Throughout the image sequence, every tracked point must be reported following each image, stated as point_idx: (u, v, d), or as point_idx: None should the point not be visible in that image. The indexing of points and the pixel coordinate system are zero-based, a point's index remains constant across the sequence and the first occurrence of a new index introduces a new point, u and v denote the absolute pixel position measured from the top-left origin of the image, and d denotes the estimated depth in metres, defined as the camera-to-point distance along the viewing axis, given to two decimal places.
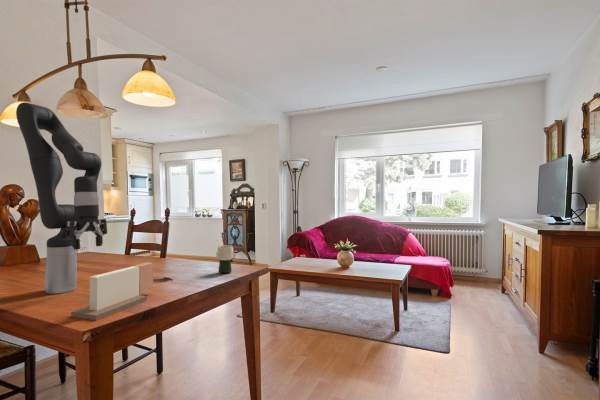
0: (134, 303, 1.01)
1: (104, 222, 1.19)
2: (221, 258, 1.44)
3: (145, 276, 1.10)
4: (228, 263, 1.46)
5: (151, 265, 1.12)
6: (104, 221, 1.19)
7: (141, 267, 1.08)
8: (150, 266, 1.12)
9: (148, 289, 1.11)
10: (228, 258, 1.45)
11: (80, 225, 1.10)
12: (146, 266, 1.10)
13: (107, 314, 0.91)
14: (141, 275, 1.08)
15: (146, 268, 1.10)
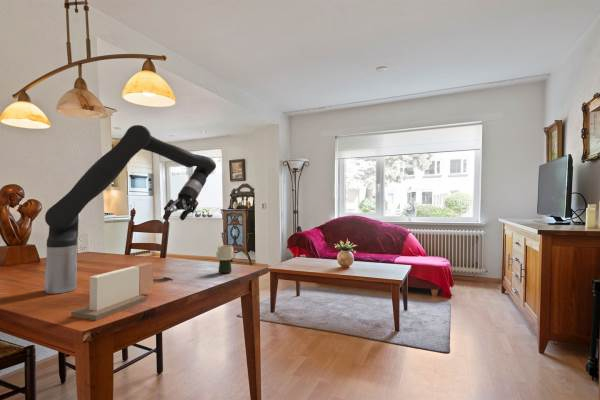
0: (134, 303, 1.01)
1: None
2: (221, 258, 1.44)
3: (145, 276, 1.10)
4: (228, 263, 1.46)
5: (151, 265, 1.12)
6: None
7: (141, 267, 1.08)
8: (150, 266, 1.12)
9: (148, 289, 1.11)
10: (228, 258, 1.45)
11: (190, 205, 1.30)
12: (146, 266, 1.10)
13: (107, 314, 0.91)
14: (141, 275, 1.08)
15: (146, 268, 1.10)
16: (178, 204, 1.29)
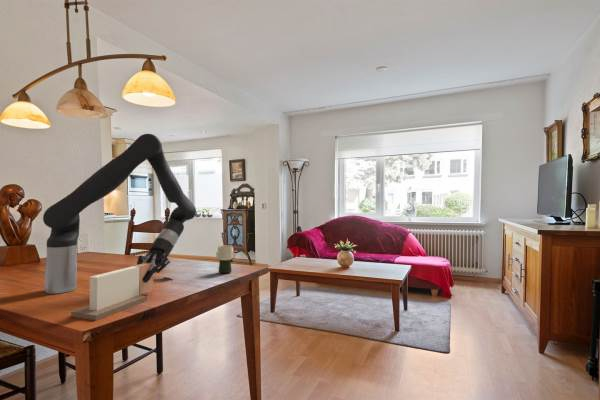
0: (134, 303, 1.01)
1: None
2: (221, 258, 1.44)
3: None
4: (228, 263, 1.46)
5: None
6: None
7: (141, 267, 1.08)
8: None
9: (148, 289, 1.11)
10: (228, 258, 1.45)
11: None
12: (146, 266, 1.10)
13: (107, 314, 0.91)
14: (141, 275, 1.08)
15: (146, 268, 1.10)
16: (151, 259, 1.14)
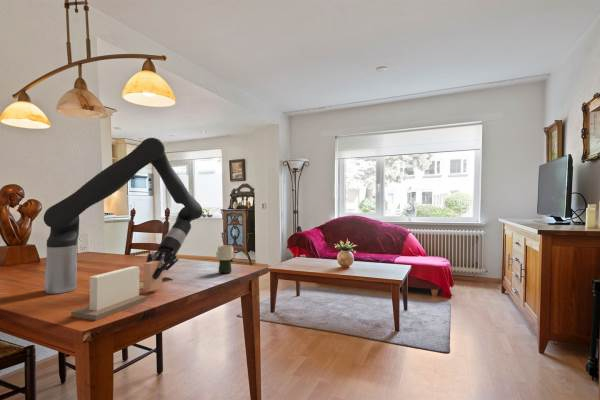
0: (134, 303, 1.01)
1: None
2: (221, 258, 1.44)
3: None
4: (228, 263, 1.46)
5: None
6: None
7: (151, 264, 1.12)
8: (159, 263, 1.16)
9: (157, 286, 1.15)
10: (228, 258, 1.45)
11: None
12: (155, 264, 1.14)
13: (107, 314, 0.91)
14: (151, 272, 1.12)
15: (155, 265, 1.14)
16: (160, 256, 1.19)
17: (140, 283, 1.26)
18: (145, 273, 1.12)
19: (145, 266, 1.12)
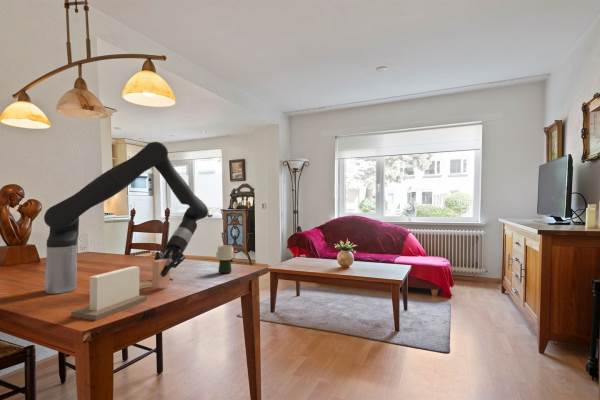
0: (134, 303, 1.01)
1: None
2: (221, 258, 1.44)
3: None
4: (228, 263, 1.46)
5: None
6: None
7: (159, 262, 1.16)
8: (167, 261, 1.20)
9: (165, 283, 1.19)
10: (228, 258, 1.45)
11: None
12: (164, 261, 1.18)
13: (107, 314, 0.91)
14: (159, 270, 1.16)
15: (164, 263, 1.18)
16: (168, 255, 1.23)
17: (140, 283, 1.26)
18: (154, 271, 1.16)
19: (154, 264, 1.16)
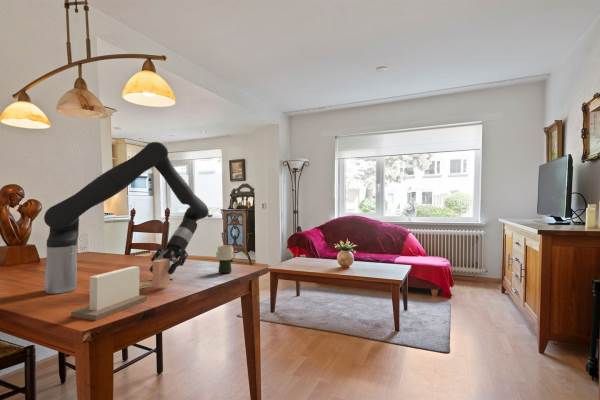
0: (134, 303, 1.01)
1: None
2: (221, 258, 1.44)
3: (163, 271, 1.18)
4: (228, 263, 1.46)
5: (168, 261, 1.21)
6: None
7: (159, 262, 1.16)
8: (167, 261, 1.20)
9: (165, 283, 1.20)
10: (228, 258, 1.45)
11: None
12: (164, 261, 1.19)
13: (107, 314, 0.91)
14: (159, 270, 1.16)
15: (164, 263, 1.19)
16: (166, 255, 1.23)
17: (140, 283, 1.26)
18: (154, 270, 1.17)
19: (154, 264, 1.17)
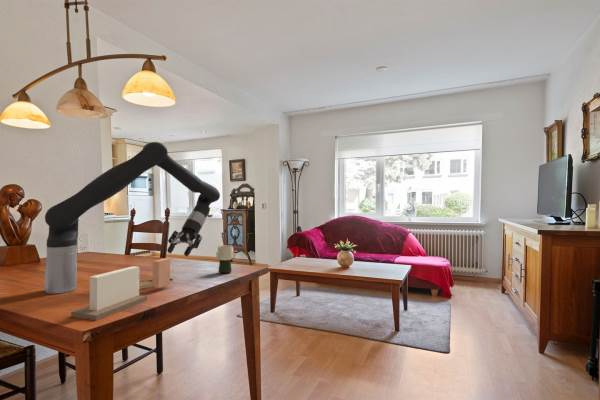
0: (134, 303, 1.01)
1: None
2: (221, 258, 1.45)
3: (163, 271, 1.18)
4: (228, 263, 1.46)
5: (168, 261, 1.21)
6: None
7: (159, 262, 1.16)
8: (167, 261, 1.20)
9: (165, 283, 1.20)
10: (228, 258, 1.45)
11: None
12: (164, 261, 1.19)
13: (107, 314, 0.91)
14: (159, 270, 1.16)
15: (164, 263, 1.19)
16: (182, 238, 1.33)
17: (140, 283, 1.26)
18: (154, 270, 1.17)
19: (154, 264, 1.17)
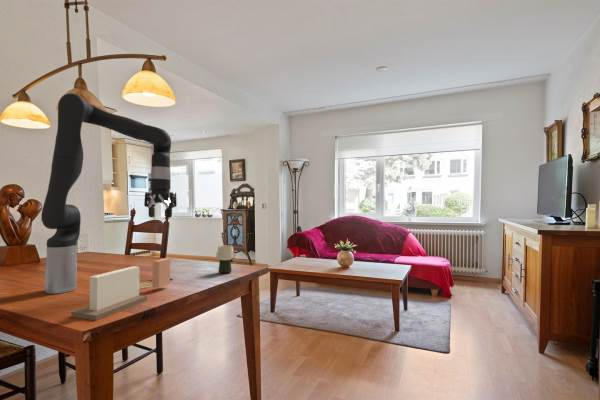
0: (134, 303, 1.01)
1: None
2: (221, 258, 1.44)
3: (163, 271, 1.18)
4: (228, 263, 1.46)
5: (168, 261, 1.21)
6: None
7: (159, 262, 1.16)
8: (167, 261, 1.20)
9: (165, 283, 1.20)
10: (228, 258, 1.45)
11: None
12: (164, 261, 1.19)
13: (107, 314, 0.91)
14: (159, 270, 1.16)
15: (164, 263, 1.19)
16: (157, 199, 1.24)
17: (140, 283, 1.26)
18: (154, 270, 1.17)
19: (154, 264, 1.17)
